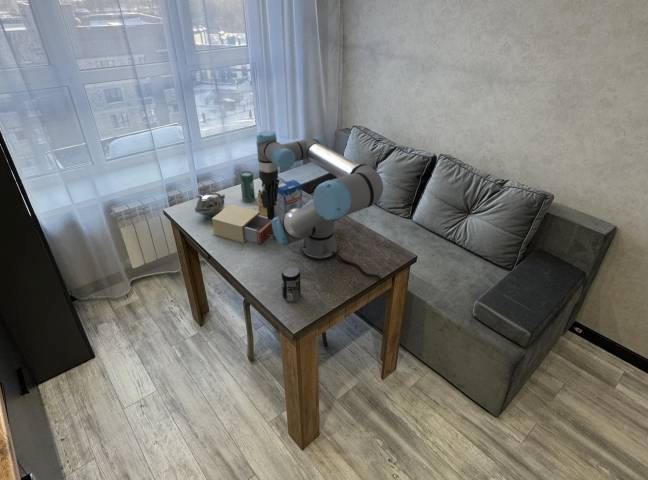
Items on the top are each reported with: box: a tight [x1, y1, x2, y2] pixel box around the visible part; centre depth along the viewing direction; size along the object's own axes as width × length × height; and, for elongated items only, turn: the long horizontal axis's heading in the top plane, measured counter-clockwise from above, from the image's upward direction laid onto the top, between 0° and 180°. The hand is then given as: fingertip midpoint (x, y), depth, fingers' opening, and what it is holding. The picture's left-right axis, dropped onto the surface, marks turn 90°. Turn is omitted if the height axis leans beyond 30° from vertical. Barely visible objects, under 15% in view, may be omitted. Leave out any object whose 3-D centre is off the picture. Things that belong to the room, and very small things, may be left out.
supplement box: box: [257, 191, 278, 217], centre depth 191 cm, size 8×5×13 cm, turn 68°
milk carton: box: [277, 179, 303, 216], centre depth 186 cm, size 10×6×20 cm, turn 131°
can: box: [239, 170, 256, 203], centre depth 204 cm, size 6×6×15 cm
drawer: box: [243, 215, 277, 246], centre depth 177 cm, size 20×13×7 cm, turn 68°
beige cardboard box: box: [211, 203, 260, 244], centre depth 180 cm, size 16×14×9 cm
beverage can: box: [281, 265, 302, 302], centre depth 144 cm, size 7×7×12 cm
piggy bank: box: [194, 192, 226, 220], centre depth 190 cm, size 11×15×12 cm
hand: (271, 218), depth 172 cm, fingers closed
